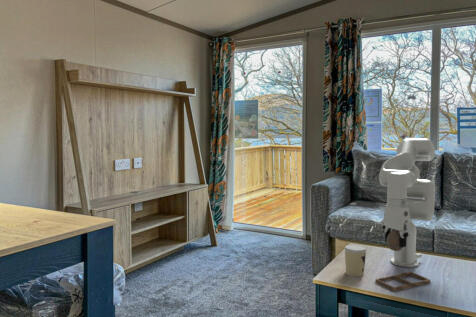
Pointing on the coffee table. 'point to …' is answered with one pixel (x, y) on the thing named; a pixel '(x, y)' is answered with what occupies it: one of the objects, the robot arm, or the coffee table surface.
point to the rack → (402, 281)
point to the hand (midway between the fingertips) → (395, 244)
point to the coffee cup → (355, 260)
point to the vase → (394, 240)
